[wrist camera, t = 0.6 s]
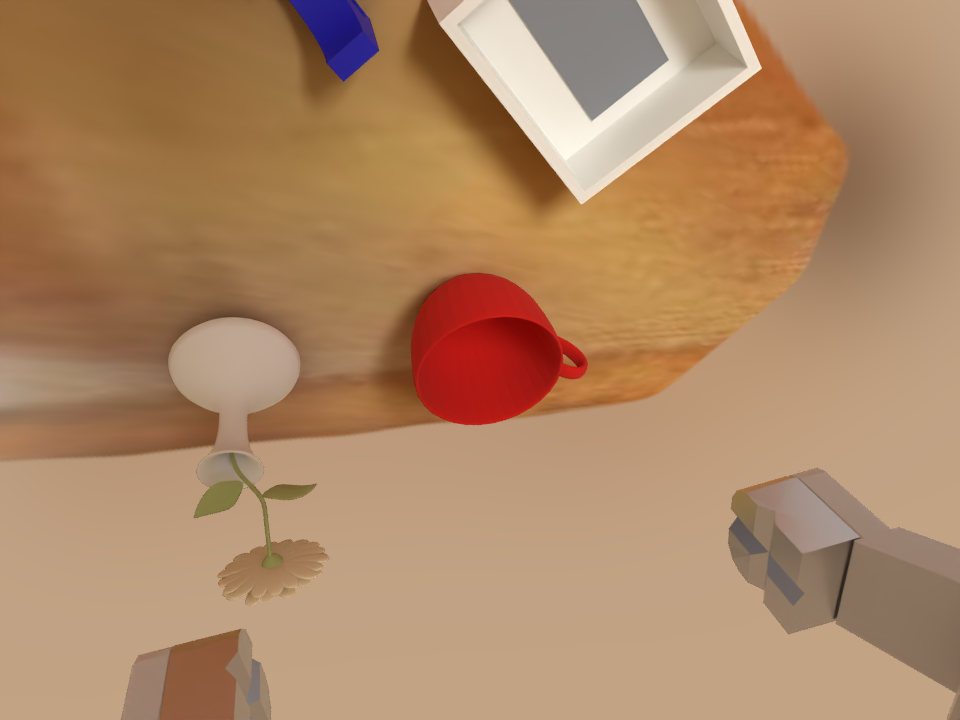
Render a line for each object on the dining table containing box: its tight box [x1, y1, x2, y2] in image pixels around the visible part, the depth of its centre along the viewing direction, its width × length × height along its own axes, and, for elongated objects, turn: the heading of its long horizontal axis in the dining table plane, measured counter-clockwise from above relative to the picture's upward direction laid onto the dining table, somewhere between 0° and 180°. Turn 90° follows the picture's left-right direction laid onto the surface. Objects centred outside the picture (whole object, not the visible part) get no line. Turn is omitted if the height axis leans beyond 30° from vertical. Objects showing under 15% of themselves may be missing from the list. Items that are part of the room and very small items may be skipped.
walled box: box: [427, 0, 762, 205], centre depth 48 cm, size 16×18×6 cm
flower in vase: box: [168, 317, 329, 606], centre depth 56 cm, size 13×11×25 cm
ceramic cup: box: [411, 273, 588, 425], centre depth 63 cm, size 13×17×10 cm
